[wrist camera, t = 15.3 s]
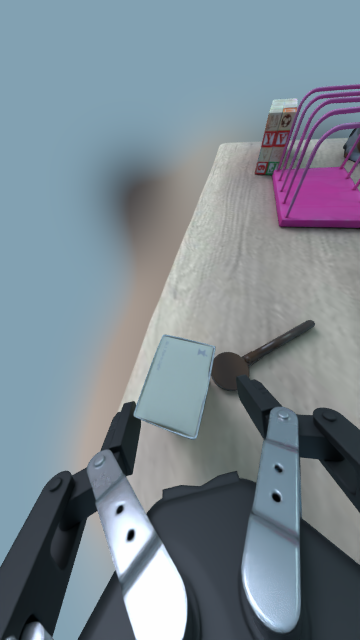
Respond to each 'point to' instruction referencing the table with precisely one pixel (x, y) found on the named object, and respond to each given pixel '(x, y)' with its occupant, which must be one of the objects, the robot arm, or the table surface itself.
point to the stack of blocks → (276, 135)
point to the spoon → (249, 358)
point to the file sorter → (318, 175)
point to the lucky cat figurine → (349, 144)
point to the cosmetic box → (177, 386)
